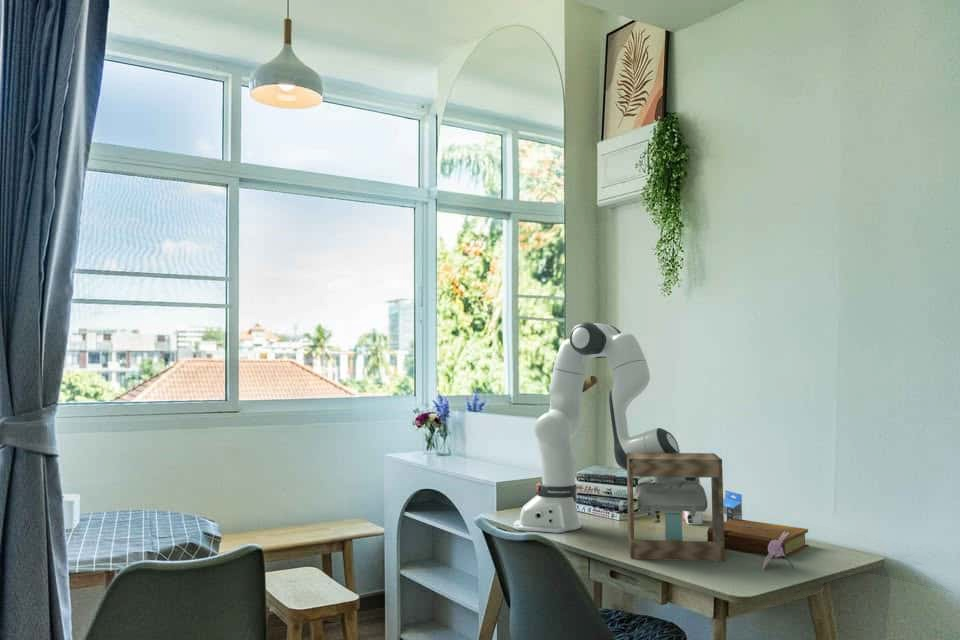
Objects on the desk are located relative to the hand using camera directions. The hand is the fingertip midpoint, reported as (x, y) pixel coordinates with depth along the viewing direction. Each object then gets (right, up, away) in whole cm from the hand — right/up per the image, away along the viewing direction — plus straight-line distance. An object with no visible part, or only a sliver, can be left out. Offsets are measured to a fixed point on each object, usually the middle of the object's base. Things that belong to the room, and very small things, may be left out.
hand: (674, 521), depth 222 cm
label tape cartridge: (+25, -10, +26) cm, 37 cm away
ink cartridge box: (+16, -11, +40) cm, 44 cm away
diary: (+27, -9, +6) cm, 29 cm away
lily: (+24, -8, -16) cm, 30 cm away
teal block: (0, -9, 0) cm, 9 cm away
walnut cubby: (0, -9, -2) cm, 9 cm away
